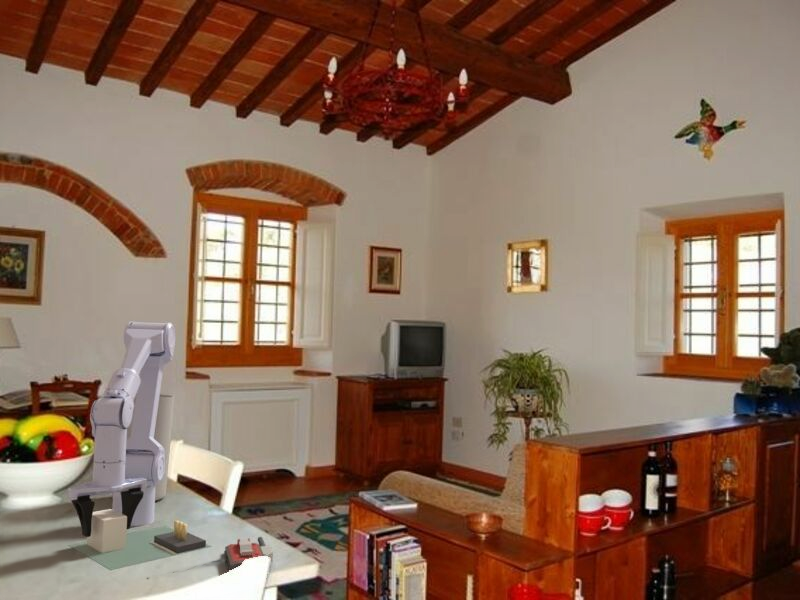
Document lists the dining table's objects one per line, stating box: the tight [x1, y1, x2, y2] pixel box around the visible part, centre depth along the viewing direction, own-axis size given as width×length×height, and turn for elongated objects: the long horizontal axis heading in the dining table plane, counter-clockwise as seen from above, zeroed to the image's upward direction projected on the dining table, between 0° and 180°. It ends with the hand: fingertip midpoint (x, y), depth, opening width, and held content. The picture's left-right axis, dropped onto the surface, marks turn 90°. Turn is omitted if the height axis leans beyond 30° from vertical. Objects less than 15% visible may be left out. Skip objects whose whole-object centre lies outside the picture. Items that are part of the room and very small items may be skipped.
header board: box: [68, 520, 212, 571], centre depth 139 cm, size 18×20×5 cm
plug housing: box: [86, 508, 128, 553], centre depth 138 cm, size 7×4×6 cm, turn 46°
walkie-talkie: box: [223, 536, 274, 572], centre depth 135 cm, size 9×4×20 cm
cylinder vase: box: [111, 393, 176, 502], centre depth 178 cm, size 12×12×25 cm
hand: (106, 531), depth 138 cm, fingers open, 7 cm apart
